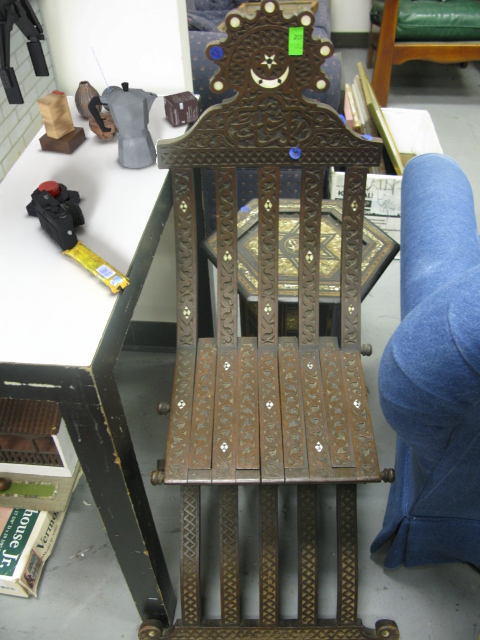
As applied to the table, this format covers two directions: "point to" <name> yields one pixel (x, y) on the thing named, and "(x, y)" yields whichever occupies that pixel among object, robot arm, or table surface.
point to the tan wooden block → (56, 114)
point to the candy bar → (97, 266)
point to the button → (50, 187)
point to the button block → (57, 198)
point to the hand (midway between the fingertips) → (30, 89)
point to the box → (181, 108)
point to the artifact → (108, 124)
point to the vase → (85, 98)
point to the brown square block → (63, 141)
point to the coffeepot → (129, 124)
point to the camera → (58, 218)
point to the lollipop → (109, 91)
